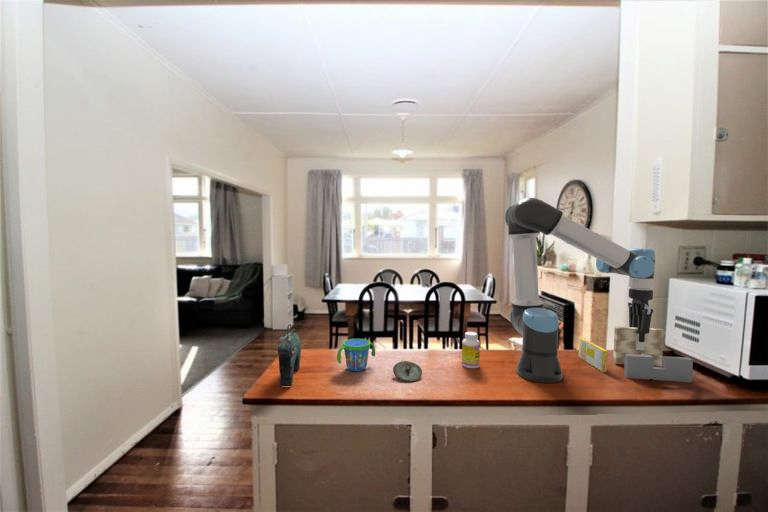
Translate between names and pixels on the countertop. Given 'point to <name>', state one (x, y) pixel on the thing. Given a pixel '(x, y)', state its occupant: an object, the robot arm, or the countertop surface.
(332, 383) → the countertop surface
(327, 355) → the countertop surface
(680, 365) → the grey notched base plate
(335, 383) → the countertop surface
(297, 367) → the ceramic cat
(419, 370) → the lid
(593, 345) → the candy box
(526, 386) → the countertop surface
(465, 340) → the supplement bottle
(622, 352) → the beige brown notched block
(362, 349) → the snack cup
